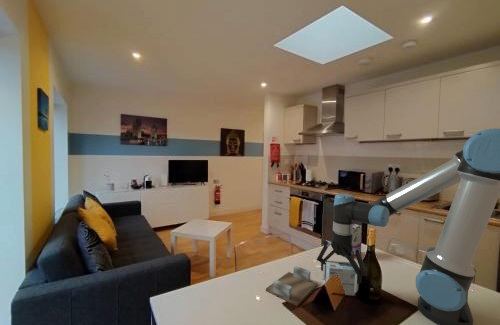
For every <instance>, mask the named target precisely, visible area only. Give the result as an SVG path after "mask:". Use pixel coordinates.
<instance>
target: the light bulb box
mask: <svg viewBox="0 0 500 325" xmlns="http://www.w3.org/2000/svg"><path fill="white" fill-rule="evenodd" d="M325 263H326V277H325V280H324V283H325V282H326V281H327V280H328V279H329V278H330V277H331V276H332V275H333V274H334V273H337V275H338V277H339V278H340V281H341V284H342V286H343V289H344V291H345V295H344V296H353V297H354V296H356V292H354V284H355V275H356V272H355V270H354V269H353V267H352V265H351V264H350V262H349V261H337V260H336V261H334V260H327V261H326V262H325Z"/></svg>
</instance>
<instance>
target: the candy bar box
mask: <svg viewBox="0 0 500 325" xmlns="http://www.w3.org/2000/svg"><path fill="white" fill-rule="evenodd" d="M362 230H363V225H359V224H356V223H353V233H352V247H353V248H356V249H357V248H360V253H361V254H362V236H363V235H362V232H363V231H362ZM351 254H352V256H353V258H354V257H355V258H356V254H354V252H353V251H352V252H351ZM344 258H346V256H345V257H344Z"/></svg>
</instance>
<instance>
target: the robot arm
mask: <svg viewBox="0 0 500 325" xmlns="http://www.w3.org/2000/svg"><path fill="white" fill-rule="evenodd" d="M457 184H458V186H457V189H456V192H455V194H454V197H453V200H452V202H451V205H450V207H449V210H448V212H447V215H446V219H445V221H444V224H443V227H442V229H441V232H440V235H439V237H438V240H437V243H436V246H435V247H434V246H433V247H432V246H431V247H428V248H427V251H426V253H425V256H424V259H423V263H422V265H421V267H420V270H419V272H418V273H417V275H416V276H415V288H416V291H417V293H418V294H419V297H418V298H417V310H418V311H419V312H420V313H421V314H422V316H424V317H425V318H426V319H428V320H430V321H431V322H433V323H435V324H437V325H439V324H440V325H474V318H473V315H472V314H473V313H472V311H471V309H470V308H471V307H470V304H469V301H468V299H469V298H468V296H469V290H470V289H471V288H470V287H471V285H472V282H473V280H474V278H475V276H476V272H475V271H474V269H473V267H472V263H473V261H474V258H475V255H476V253H477V251H478V248H479V246H480V243H481V241H482V238H483V236H484V234H485V231H486V229H487V226H488V224H489V221H490V219H491V216H492V214H493V212H494V209H495V207H496V205H497V202H498V199H499V197H500V128H493V127H492V128H488V129H484V130H480V131H478V132H476V133H474V134H472V135H471V136H470V137H469V138H468V139H467V140H466V141H465V143H464V145H463V148H462V149H461V150H460V151H458V152H456V153H455V154H453V157H452V159H450V160H448V161H446V162H445V163H443V164H441V165H439V166H437V167H436V168H434V169H431V170H429V171H427V172H425V173H424V174H422V175H421V176H419V177H417V178H415V179H414V180H411V181H409V182H408V183H406V184H404V185H401V186H400V187H399V188H397V189H395V190H393V191H391V192H389V193H388V194H385V195H384V196H382V197H379V198H378V199H376V200H374V201H371V202H369V203H367V202H361V201H357V200H356V199H355V196H354V195H352V194H348V193H337V194H336V195H335V196H334V202H333V218H332V220H333V221H332V237H331V241H330V240H329V239H326V240H325V241H324V242H323V247H322V249H321V251H320V252H319V254H318V256H317V258H316V261H317V262H320V270H321V271H322V280H323V281H325V277H326V261H329V259H330V258H331V257H332V256H333V255H334V254H336V255H337V256H341V257H343V258H346V259H347V260H348V262H350V264H351V265H352V267H353V269H354V270H355V272H356V275H355V284H354V292H355V293H357V292H358V291H359V285H360V284H361V283H362V277H366V275H367V274H368V271H367V268H366V265H365V263H364V260H363V257H362V252H361V253H360V248H357V249H356V248H353V247H352V233H353V224H354V222H358V223H363V224H365V225H366V224H367V225H370V226H374V227H381V228H385V227H387V225H388V224H389V221H390V217H391V216H393V215H394V214H397V213H398V212H400V211H403V210H406V209H407V208H409V207H412V206H413V205H415V204H417V203H420V202H421V201H424V200H426V199H428V198H429V197H433V196H434V195H437V194H439V193H440V192H443V191H444V190H448V189H449V188H451V187H453V186H455V185H457ZM329 247H331V248H332V250H331V251H330V252H329V253H328V254H327V255H326V256H325V257H324V255H325V253H326V252H327V250H328V248H329ZM352 251H353V252H354V254H356V256H355V258H356V260H355V258H354V257H353V256H352V254H351V252H352ZM345 256H346V257H345Z"/></svg>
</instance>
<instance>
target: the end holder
mask: <svg viewBox="0 0 500 325" xmlns="http://www.w3.org/2000/svg"><path fill="white" fill-rule="evenodd" d="M318 284H319V283H318V282H315V281H313V280H311V270H308V269H306V268H303V267H300V266H298V265H295V266H294V267H293V272H292V271H291V272H290V271H288V272H287V273H285V274H283V275H282V276H281V277H280V278H278V279H275V280H274V281H273V283H271V284H270V285H268V286H267V287H266V288H265V292H267V293H269V294H271V295H273V296H276V297H278V298H279V299H282V300H284V301H286V302H288V303H289V304H291V305H294V306H296V307H299V305H300V304H301V303H302V302H303V301H304V300H306V298H307V297H308V296H310V294H311V293H312V292H313V291H314V290H315V289H316V288H317V287H318V286H319V285H318Z"/></svg>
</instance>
